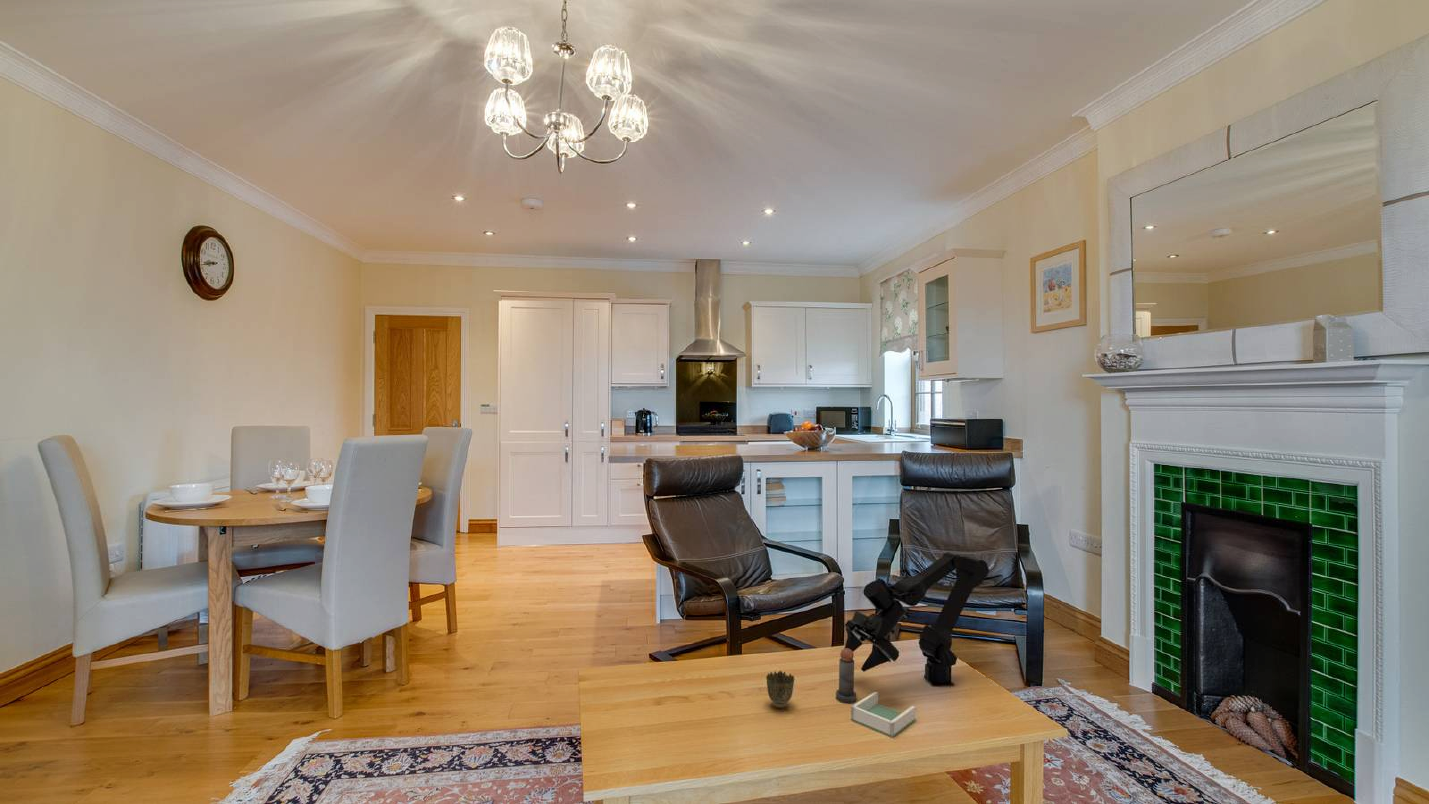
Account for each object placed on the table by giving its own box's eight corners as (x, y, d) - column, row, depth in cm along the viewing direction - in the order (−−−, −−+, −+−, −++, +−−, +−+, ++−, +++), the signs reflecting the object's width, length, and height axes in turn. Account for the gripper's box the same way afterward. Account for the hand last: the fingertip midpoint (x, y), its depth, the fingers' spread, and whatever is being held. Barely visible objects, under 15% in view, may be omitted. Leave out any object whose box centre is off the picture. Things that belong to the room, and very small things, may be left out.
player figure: (852, 693, 175) (853, 644, 175) (859, 703, 169) (860, 652, 169) (833, 694, 174) (834, 644, 174) (839, 703, 169) (840, 652, 169)
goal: (874, 704, 169) (875, 691, 169) (915, 720, 161) (915, 706, 161) (850, 720, 160) (851, 706, 160) (892, 737, 152) (892, 723, 152)
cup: (799, 706, 167) (799, 676, 167) (782, 716, 161) (783, 685, 161) (777, 697, 172) (777, 668, 172) (760, 706, 166) (760, 676, 166)
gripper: (850, 591, 183) (817, 633, 179) (891, 611, 166) (855, 658, 162) (872, 615, 186) (840, 657, 182) (914, 638, 169) (879, 684, 165)
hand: (852, 663), depth 172 cm, fingers open, 9 cm apart
